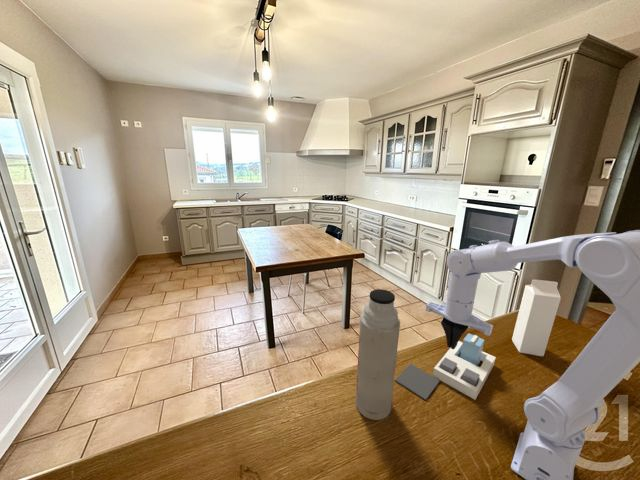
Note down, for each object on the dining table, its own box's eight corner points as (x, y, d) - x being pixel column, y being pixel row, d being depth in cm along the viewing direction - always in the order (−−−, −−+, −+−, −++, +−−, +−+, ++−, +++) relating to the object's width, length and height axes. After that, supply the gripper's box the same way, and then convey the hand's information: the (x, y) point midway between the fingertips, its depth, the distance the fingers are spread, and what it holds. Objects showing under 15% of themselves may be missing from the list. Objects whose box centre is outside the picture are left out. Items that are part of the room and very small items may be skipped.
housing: (475, 400, 61) (477, 391, 61) (432, 376, 68) (434, 368, 68) (493, 364, 72) (495, 357, 71) (455, 347, 79) (456, 339, 78)
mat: (425, 400, 61) (425, 399, 61) (394, 380, 67) (395, 379, 67) (439, 381, 67) (439, 380, 66) (410, 364, 72) (410, 363, 72)
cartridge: (474, 370, 70) (480, 345, 68) (458, 362, 73) (463, 338, 71) (479, 362, 73) (484, 338, 71) (464, 355, 76) (468, 331, 73)
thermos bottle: (349, 409, 59) (355, 297, 51) (363, 384, 66) (370, 281, 58) (384, 427, 55) (396, 308, 47) (395, 398, 62) (407, 290, 54)
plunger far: (450, 380, 66) (452, 369, 66) (438, 373, 69) (440, 363, 68) (455, 373, 68) (457, 363, 68) (443, 367, 71) (445, 357, 70)
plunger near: (473, 392, 63) (475, 381, 62) (460, 385, 65) (462, 374, 64) (477, 385, 65) (479, 374, 64) (464, 378, 67) (466, 368, 66)
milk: (511, 340, 82) (527, 274, 76) (534, 343, 81) (552, 277, 75) (519, 352, 77) (537, 283, 71) (544, 357, 75) (564, 286, 69)
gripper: (500, 303, 60) (489, 352, 64) (436, 282, 70) (430, 327, 74) (491, 315, 55) (480, 368, 59) (424, 291, 65) (418, 338, 69)
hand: (451, 346), depth 66 cm, fingers closed
